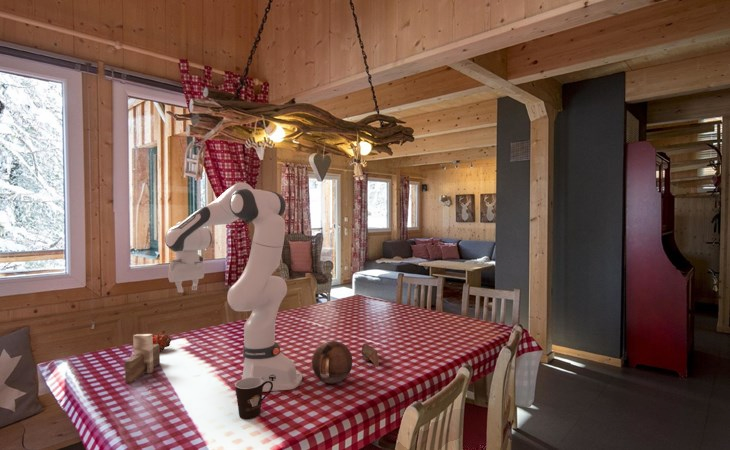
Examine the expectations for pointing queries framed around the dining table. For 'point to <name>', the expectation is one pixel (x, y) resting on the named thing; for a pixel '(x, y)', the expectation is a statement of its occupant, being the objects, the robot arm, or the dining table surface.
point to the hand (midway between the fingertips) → (187, 291)
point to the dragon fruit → (161, 341)
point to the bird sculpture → (370, 354)
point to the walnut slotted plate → (139, 364)
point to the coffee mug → (250, 396)
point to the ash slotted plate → (144, 349)
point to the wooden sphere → (332, 362)
